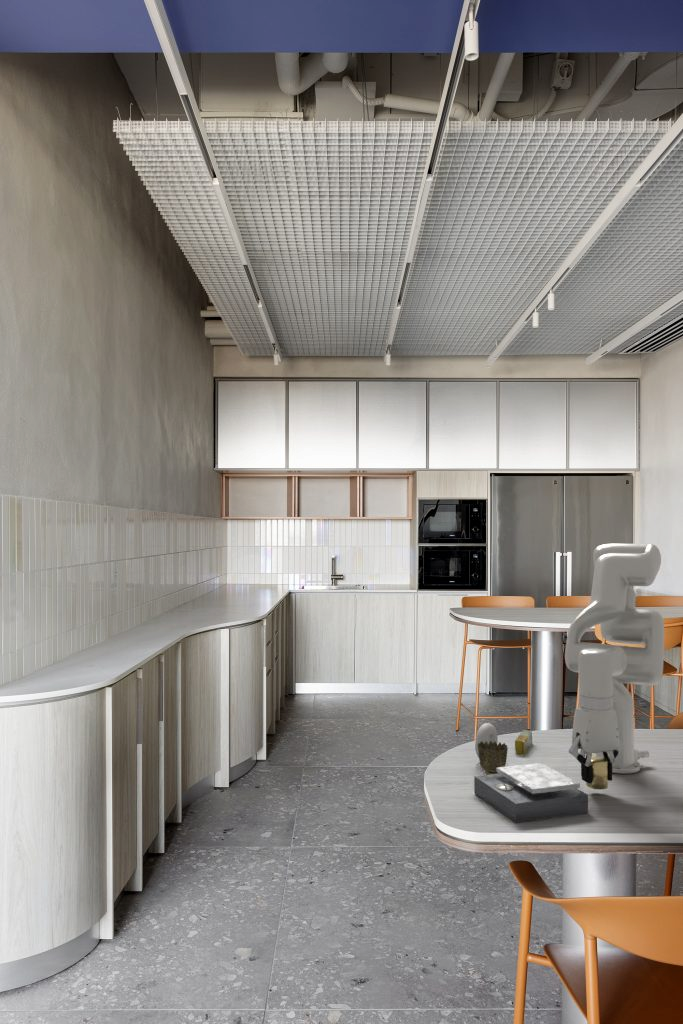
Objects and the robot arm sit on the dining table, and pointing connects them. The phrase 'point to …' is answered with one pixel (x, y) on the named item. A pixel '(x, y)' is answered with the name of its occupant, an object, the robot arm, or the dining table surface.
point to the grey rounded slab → (485, 735)
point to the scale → (528, 800)
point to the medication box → (523, 742)
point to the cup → (492, 756)
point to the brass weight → (599, 773)
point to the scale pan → (537, 778)
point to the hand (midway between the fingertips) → (596, 779)
